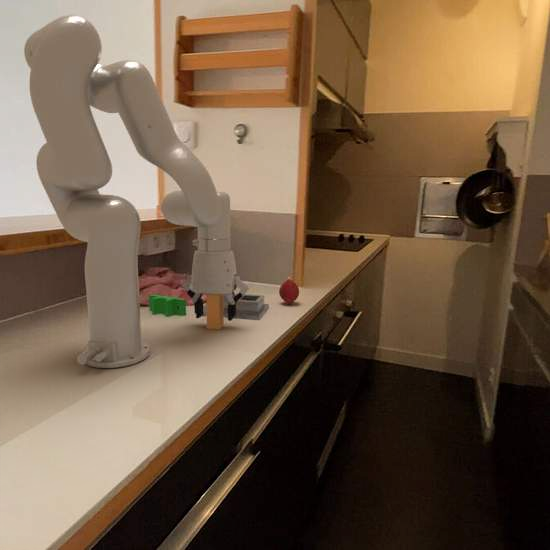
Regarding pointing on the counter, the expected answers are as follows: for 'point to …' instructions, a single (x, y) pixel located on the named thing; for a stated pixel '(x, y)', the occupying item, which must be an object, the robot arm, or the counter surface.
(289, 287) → the onion
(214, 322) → the orange rectangular block
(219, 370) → the counter surface
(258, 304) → the grey post stand
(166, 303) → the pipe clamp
